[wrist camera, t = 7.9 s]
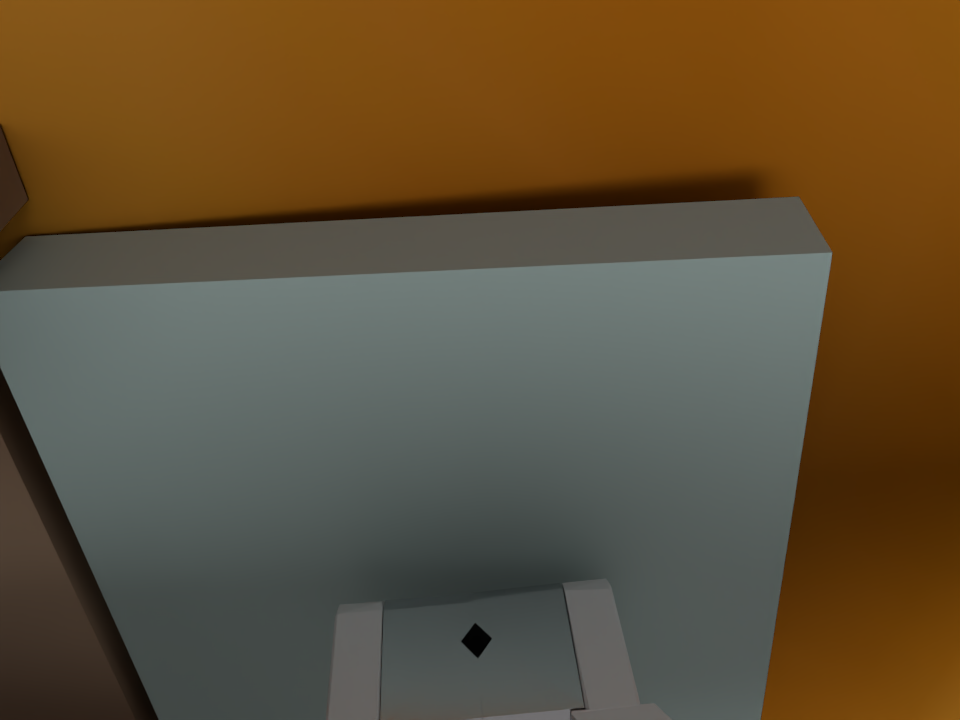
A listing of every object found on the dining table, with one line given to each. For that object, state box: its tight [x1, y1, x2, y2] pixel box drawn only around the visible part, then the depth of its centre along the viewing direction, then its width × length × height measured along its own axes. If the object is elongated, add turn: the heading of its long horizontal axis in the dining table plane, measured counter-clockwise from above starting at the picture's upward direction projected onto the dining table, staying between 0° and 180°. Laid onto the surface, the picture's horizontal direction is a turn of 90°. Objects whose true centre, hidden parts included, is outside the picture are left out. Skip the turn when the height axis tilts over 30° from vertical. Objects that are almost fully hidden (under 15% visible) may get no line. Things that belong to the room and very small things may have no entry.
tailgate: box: [0, 197, 832, 720], centre depth 12 cm, size 12×1×8 cm
